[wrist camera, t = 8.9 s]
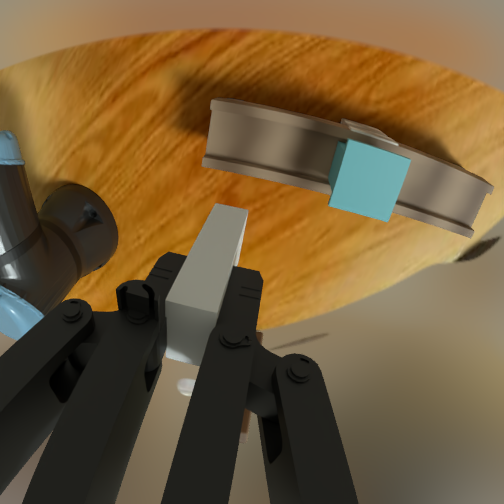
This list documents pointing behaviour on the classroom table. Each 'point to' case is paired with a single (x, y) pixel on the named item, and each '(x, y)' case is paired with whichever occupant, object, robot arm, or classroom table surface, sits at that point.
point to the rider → (366, 179)
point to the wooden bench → (321, 156)
